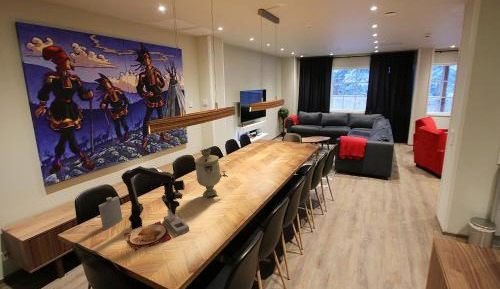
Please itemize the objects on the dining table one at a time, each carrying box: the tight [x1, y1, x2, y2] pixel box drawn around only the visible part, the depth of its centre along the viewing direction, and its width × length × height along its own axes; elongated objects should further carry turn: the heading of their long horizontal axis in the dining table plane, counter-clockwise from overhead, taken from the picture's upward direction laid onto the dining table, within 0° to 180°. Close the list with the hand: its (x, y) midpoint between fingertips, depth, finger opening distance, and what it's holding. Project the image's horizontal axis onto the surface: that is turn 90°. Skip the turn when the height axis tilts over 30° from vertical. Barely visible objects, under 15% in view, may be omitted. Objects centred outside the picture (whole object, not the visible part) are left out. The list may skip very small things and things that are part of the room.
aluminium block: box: [166, 209, 177, 220], centre depth 183 cm, size 4×4×6 cm
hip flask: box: [98, 196, 123, 231], centre depth 184 cm, size 16×4×20 cm, turn 161°
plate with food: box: [123, 220, 173, 252], centre depth 168 cm, size 24×26×3 cm
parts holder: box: [163, 213, 190, 236], centre depth 179 cm, size 8×24×3 cm, turn 36°
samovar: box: [194, 148, 229, 200], centre depth 221 cm, size 30×26×40 cm
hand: (171, 212), depth 183 cm, fingers open, 9 cm apart
